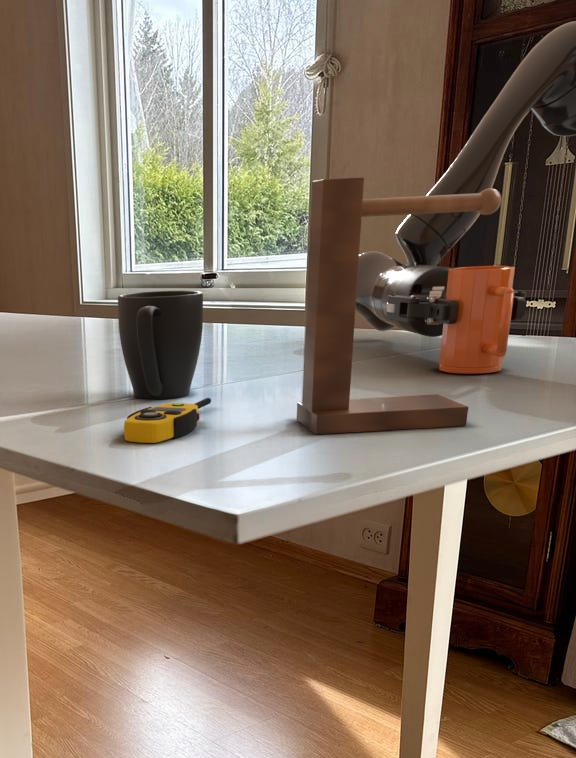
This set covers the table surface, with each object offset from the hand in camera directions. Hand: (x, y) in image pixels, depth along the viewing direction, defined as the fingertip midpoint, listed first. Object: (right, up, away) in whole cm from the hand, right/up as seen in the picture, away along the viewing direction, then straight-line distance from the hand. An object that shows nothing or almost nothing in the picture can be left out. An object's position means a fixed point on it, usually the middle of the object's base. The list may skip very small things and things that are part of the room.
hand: (487, 311), depth 92 cm
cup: (0, -5, +3) cm, 6 cm away
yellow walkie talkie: (-33, -15, -15) cm, 39 cm away
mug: (-33, -9, -2) cm, 35 cm away
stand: (-16, -16, -18) cm, 29 cm away
